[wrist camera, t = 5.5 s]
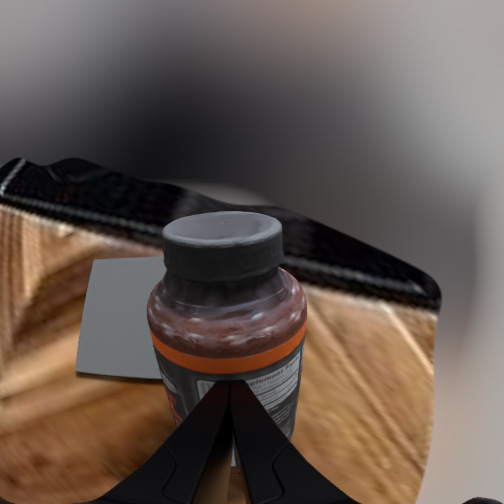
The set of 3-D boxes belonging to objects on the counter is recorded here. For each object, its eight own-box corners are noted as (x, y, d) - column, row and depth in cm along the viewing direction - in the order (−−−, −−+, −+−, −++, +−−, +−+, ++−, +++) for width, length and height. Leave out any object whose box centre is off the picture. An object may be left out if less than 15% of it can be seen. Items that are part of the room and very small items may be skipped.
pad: (283, 376, 17) (284, 375, 17) (78, 372, 16) (75, 370, 16) (270, 254, 22) (270, 251, 22) (96, 262, 21) (94, 259, 21)
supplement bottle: (174, 406, 15) (135, 214, 11) (267, 385, 17) (269, 201, 13) (195, 489, 10) (126, 264, 6) (312, 456, 12) (350, 235, 8)
